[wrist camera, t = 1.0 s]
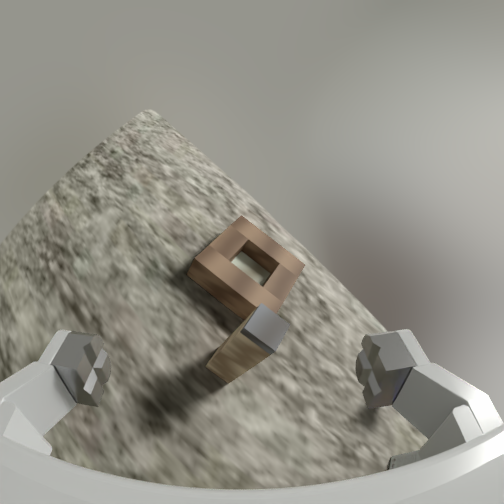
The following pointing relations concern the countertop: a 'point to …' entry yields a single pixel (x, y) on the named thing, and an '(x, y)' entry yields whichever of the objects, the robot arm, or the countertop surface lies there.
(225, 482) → the countertop surface
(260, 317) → the peg
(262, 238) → the socket block
